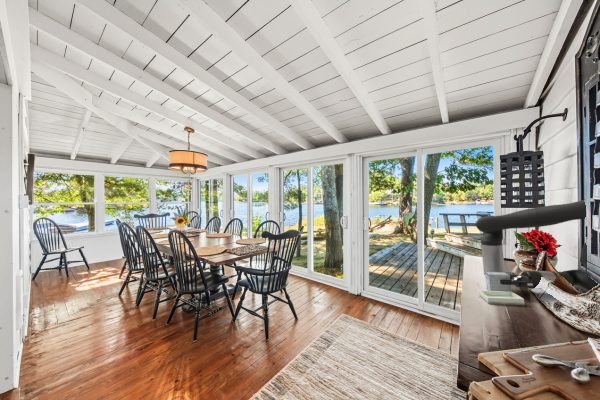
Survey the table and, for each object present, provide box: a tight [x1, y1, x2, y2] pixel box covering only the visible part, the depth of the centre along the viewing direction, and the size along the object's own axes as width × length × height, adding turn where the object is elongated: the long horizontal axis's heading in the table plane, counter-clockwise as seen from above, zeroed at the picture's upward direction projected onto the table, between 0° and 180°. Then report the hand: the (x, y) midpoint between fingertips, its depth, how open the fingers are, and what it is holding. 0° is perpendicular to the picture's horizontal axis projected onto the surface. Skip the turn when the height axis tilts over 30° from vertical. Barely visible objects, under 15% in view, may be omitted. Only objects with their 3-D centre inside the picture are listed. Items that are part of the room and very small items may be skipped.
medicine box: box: [484, 272, 512, 292], centre depth 107 cm, size 8×4×9 cm, turn 71°
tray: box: [478, 290, 525, 306], centre depth 99 cm, size 8×12×2 cm
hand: (495, 279), depth 107 cm, fingers open, 8 cm apart
